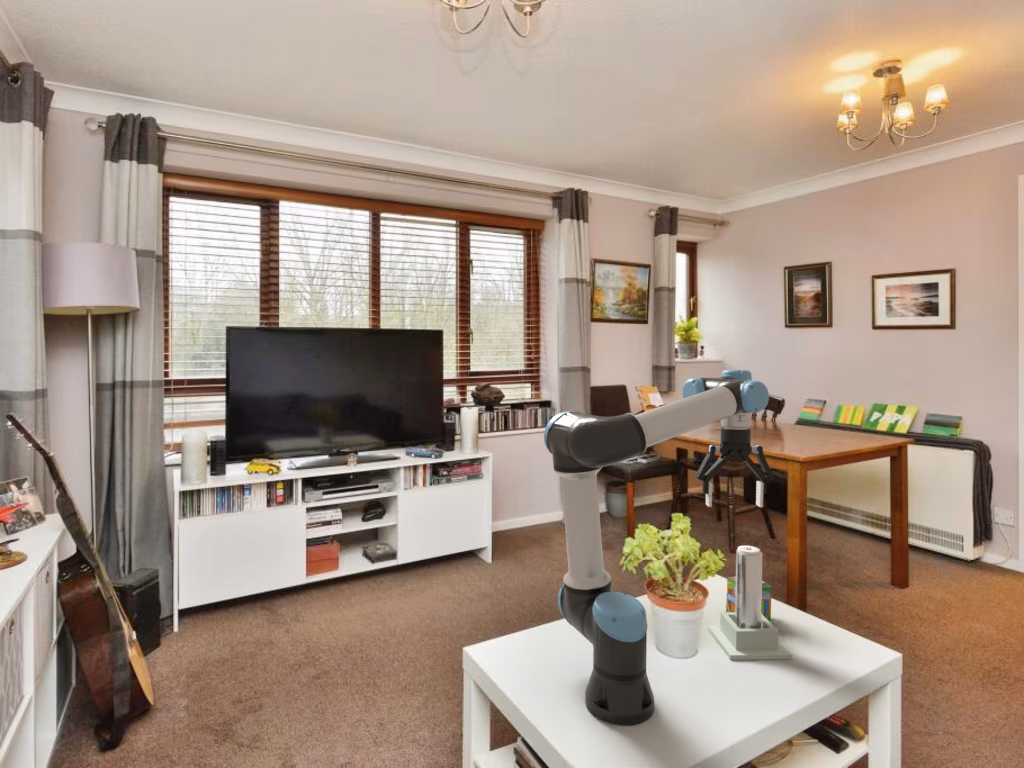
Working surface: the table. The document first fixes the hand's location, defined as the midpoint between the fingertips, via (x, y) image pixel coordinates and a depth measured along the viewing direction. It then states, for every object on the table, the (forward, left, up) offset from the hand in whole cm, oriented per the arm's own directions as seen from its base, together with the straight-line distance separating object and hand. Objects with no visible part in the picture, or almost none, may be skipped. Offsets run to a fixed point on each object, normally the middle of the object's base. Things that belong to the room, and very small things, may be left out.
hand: (734, 506), depth 156 cm
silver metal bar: (+3, -2, -36) cm, 36 cm away
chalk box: (+10, +12, -37) cm, 40 cm away
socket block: (+4, -2, -37) cm, 37 cm away
